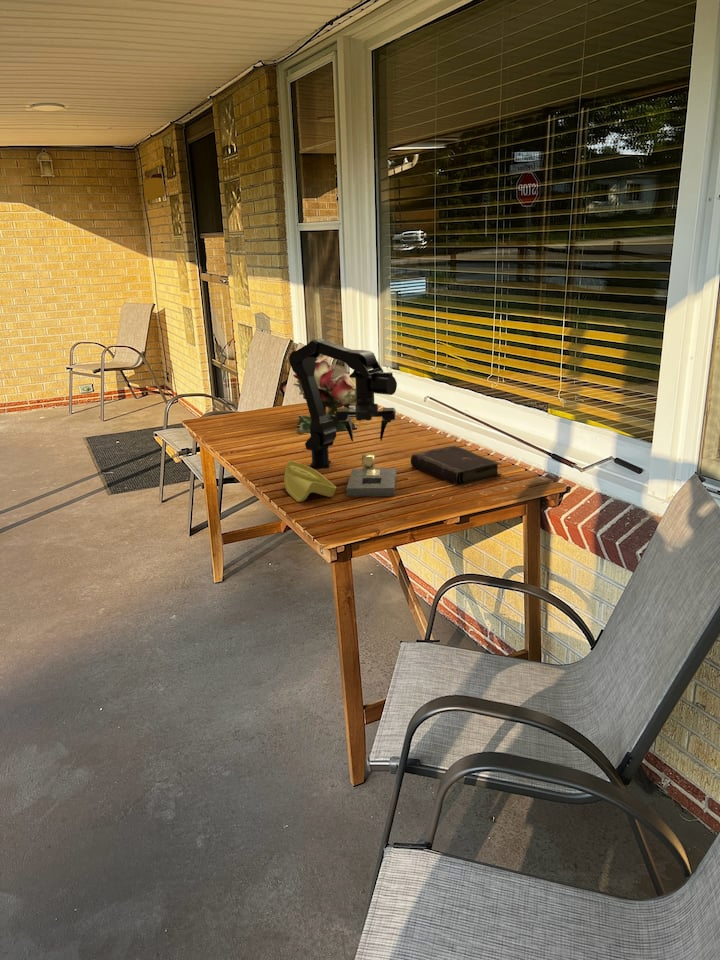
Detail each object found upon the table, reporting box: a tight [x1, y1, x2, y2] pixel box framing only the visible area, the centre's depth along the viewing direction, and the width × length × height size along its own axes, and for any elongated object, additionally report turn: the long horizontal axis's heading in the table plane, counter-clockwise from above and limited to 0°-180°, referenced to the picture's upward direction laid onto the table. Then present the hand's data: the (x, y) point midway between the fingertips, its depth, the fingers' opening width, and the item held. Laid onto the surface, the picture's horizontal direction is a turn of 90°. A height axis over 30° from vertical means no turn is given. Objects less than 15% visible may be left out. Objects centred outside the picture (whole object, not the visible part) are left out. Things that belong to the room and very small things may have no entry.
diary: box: [410, 445, 503, 487], centre depth 234 cm, size 19×25×5 cm
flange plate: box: [346, 467, 397, 497], centre depth 223 cm, size 20×14×3 cm
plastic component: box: [283, 460, 337, 503], centre depth 220 cm, size 20×8×10 cm
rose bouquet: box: [292, 354, 357, 434], centre depth 297 cm, size 26×29×30 cm
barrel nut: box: [361, 453, 376, 469], centre depth 235 cm, size 4×4×6 cm
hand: (366, 440), depth 232 cm, fingers open, 9 cm apart
